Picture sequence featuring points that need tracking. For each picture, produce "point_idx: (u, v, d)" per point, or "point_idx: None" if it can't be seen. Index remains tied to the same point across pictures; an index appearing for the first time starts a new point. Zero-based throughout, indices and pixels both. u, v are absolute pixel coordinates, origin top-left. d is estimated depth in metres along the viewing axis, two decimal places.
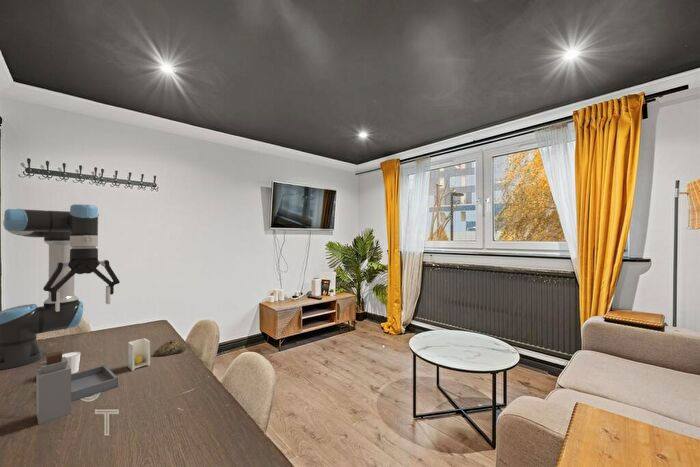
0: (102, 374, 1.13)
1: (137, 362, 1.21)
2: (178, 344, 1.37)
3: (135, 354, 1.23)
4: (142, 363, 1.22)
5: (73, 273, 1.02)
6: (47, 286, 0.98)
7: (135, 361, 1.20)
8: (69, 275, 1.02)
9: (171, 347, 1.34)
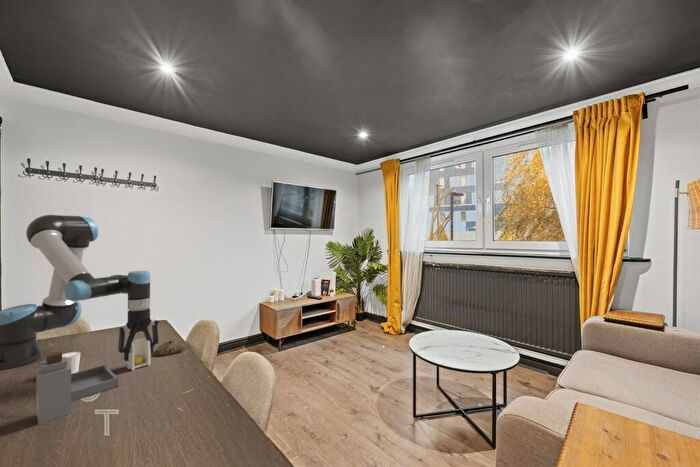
0: (102, 374, 1.13)
1: (137, 362, 1.21)
2: (177, 344, 1.37)
3: (135, 354, 1.23)
4: (142, 363, 1.22)
5: (134, 333, 1.19)
6: (121, 349, 1.16)
7: (135, 361, 1.20)
8: (132, 336, 1.19)
9: (170, 347, 1.34)
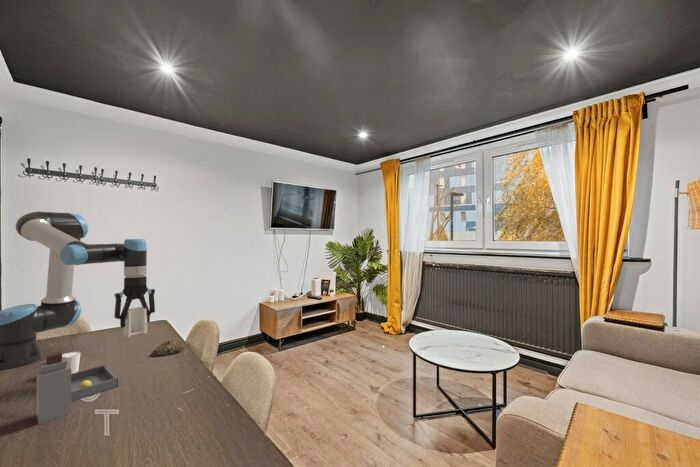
0: (102, 374, 1.13)
1: None
2: (175, 344, 1.37)
3: (132, 322, 1.22)
4: (139, 331, 1.22)
5: (130, 300, 1.19)
6: (117, 315, 1.16)
7: None
8: (128, 302, 1.19)
9: (169, 347, 1.34)
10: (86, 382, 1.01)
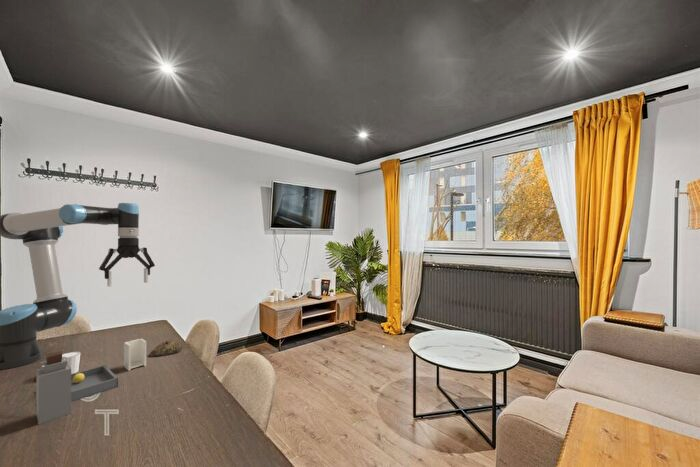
0: (102, 374, 1.13)
1: None
2: (174, 344, 1.36)
3: (131, 354, 1.22)
4: (138, 363, 1.22)
5: (121, 257, 1.30)
6: (102, 266, 1.26)
7: None
8: (118, 258, 1.30)
9: (167, 347, 1.34)
10: (80, 378, 1.06)
